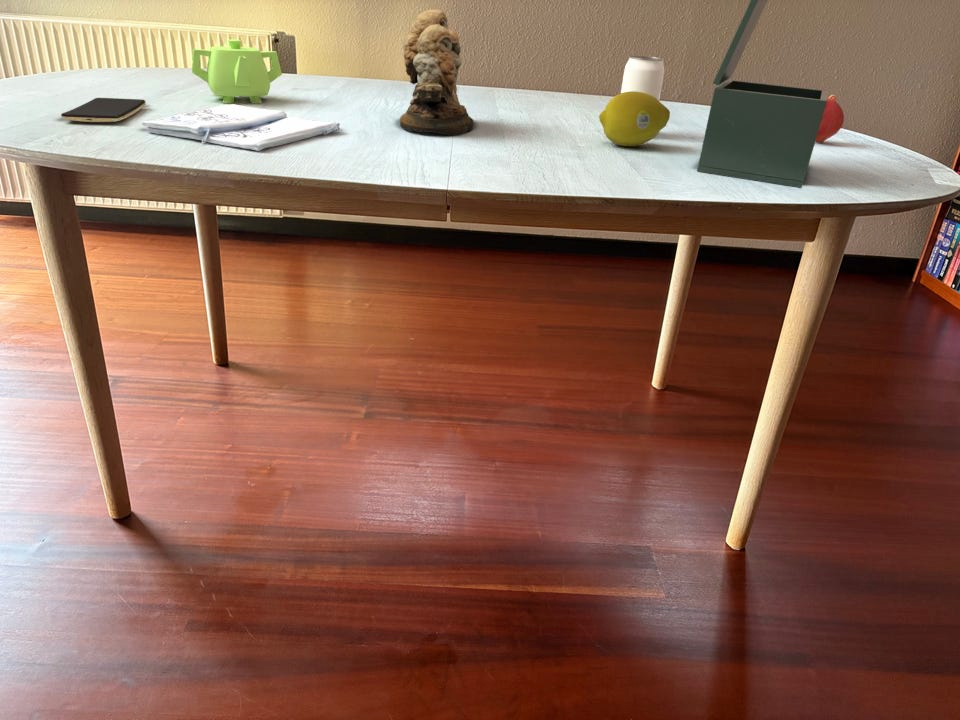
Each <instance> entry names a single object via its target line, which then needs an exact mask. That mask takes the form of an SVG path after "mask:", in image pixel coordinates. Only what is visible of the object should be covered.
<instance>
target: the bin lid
mask: <svg viewBox="0 0 960 720" xmlns="http://www.w3.org/2000/svg"><path fill="white" fill-rule="evenodd" d="M768 1H769V0H749V3H748V5H747V7H746V9H745V12H744V14H743V16H742V19H741V21H740V23H739V25H738V26H737V27H738V28H737V30H736V32H735V34H734V36H733V38H732V40H731V42H730V45H729V47H728V48H727V51H726V54H725V56H724V57H723V60H722V61H721V63H720V66H719V69H718V70H717V73H716V75H715V77H714V79H713V81H712V84H713V85H716V86H719V85H721V84H722V83H724V82H725V81H727V80H730V79H731V78H732V77H733V75H734V73H735V70H736V69H737V67H738V64H739V62H740V60H741V57H742V55H743V54H744V51H745V50H746V48H747V46H748V44H749V41H750V39H751V38H752V34H753V33H754V30H755V28H756V27H757V24H758V22H759V20H760V17H761V16H762V13H763V12H764V9H765V8H766V5H767V3H768Z"/></svg>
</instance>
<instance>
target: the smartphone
mask: <svg viewBox="0 0 960 720" xmlns="http://www.w3.org/2000/svg"><path fill="white" fill-rule="evenodd" d="M146 104H147V102H146V100H145V99H140V98H139V99H138V98H117V97H115V98H114V97H95V98H92V99H91V100H90V101H87V102H85V103H83V104H81V105H79V106H77V107H75V108H72V109H70V110H67V111H64V112H62V113H61V114H60V116H61V119H62V120H66V121H73V122H83V123H113V122H120V121H122V120H124V119H127V118H129V117H131V116H133V115H134V114H136V113H137V112H138V111H141V109H142V108H144V107H145V106H146Z"/></svg>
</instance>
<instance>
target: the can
mask: <svg viewBox="0 0 960 720" xmlns="http://www.w3.org/2000/svg"><path fill="white" fill-rule="evenodd" d="M664 61H665V59H664V58H663V57H655V56H646V55H629V56H628V60H627V62H626V64H625V66H624V71H623V76H622V83H621V89H620V94H621V93H624V92H631V91H634V92H642V93H646V94H649V95H651V96H653V97H655V98H656V99H657V100H658V101H659V102H660V99H661V93H662V88H663V83H664V77H665V65H664Z"/></svg>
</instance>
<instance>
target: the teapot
mask: <svg viewBox="0 0 960 720" xmlns="http://www.w3.org/2000/svg"><path fill="white" fill-rule="evenodd" d="M227 43H228V45H229V46H227V45H226V46H224V45H223V46H221V45H217V46H216V45H214V46H211V47H210V49H203V48H202V49H199V48H192V60H191V73H192V74H194V76H197V78H200V79H201V80H203V81H204V82H206V83H207V86H208V88H209V89H210V91H211V93H212V94H214V95H215V96H218V99H222V101H221V102H222V103H224V104H235V97H245V98H246V99H249V101H250V103H252V104H262V103H263V101H262V99H261V98H260V97H265V96H268V95H269V92H270V90H271V83H273V82H274V81H275V80H276V79H278V78H279V77H280V76H282V75H283V72H282V68H281V64H280V60H279V56H278V52H277V51H275V50H270V51H269V50H266V51H265V50H263V51H261V50H260V49H258V48H256V47H250V46H249V47H248V46H242V40H241V39H235V38H230V39H227ZM201 56H203V57H208V59H207V65H206V70H204V69H203V68H202V66H201V65H202V63H201ZM266 58H270V63H271V69H270V70H269V71H268V68H267V66H266V62H265V60H264V59H266Z"/></svg>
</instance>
